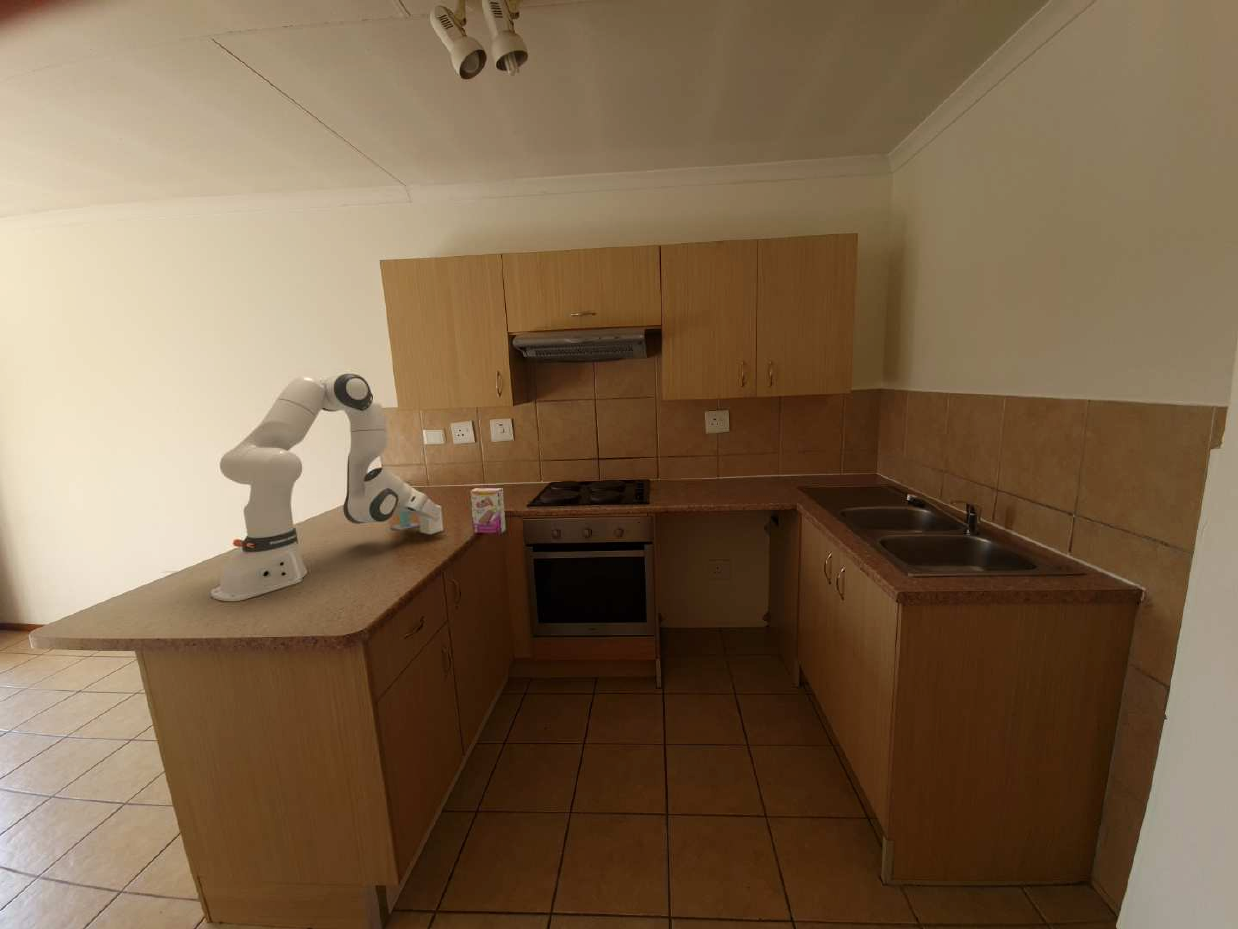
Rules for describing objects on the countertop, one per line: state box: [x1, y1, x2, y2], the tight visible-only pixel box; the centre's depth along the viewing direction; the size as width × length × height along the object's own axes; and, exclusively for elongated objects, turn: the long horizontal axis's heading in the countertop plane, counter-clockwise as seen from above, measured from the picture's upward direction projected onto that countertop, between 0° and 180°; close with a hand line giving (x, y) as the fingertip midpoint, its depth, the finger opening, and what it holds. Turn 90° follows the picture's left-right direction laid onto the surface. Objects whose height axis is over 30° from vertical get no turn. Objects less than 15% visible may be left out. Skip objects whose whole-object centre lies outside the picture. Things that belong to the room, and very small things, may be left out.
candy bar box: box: [469, 487, 507, 535], centre depth 180 cm, size 11×5×16 cm, turn 84°
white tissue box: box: [418, 504, 444, 535], centre depth 184 cm, size 6×6×10 cm
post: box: [389, 509, 420, 533], centre depth 190 cm, size 8×8×8 cm
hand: (432, 518), depth 184 cm, fingers closed on white tissue box, 6 cm apart
